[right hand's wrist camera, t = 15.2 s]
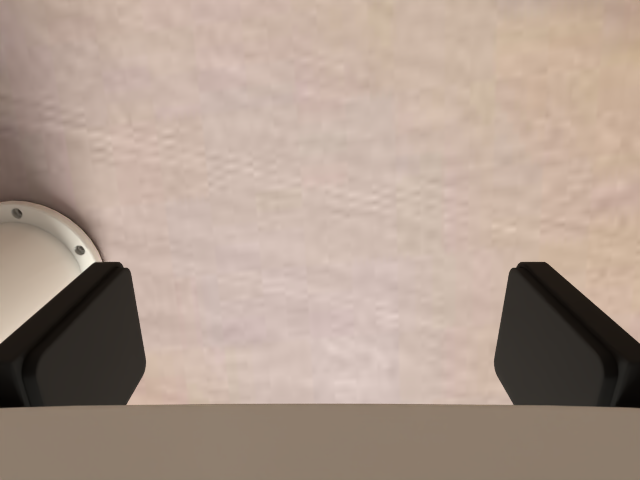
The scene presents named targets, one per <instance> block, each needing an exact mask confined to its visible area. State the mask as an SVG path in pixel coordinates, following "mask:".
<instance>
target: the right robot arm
mask: <svg viewBox="0 0 640 480" xmlns="http://www.w3.org/2000/svg"><path fill="white" fill-rule="evenodd" d="M145 367H146V358H145V352H144V346H143V340H142V335H141V329H140V323H139V317H138V311H137V306H136V300H135V294H134V288H133V282H132V276H131V272H130V270H129V269H128V268H124V267H123V265H122V264H121V263H120V262H102V259H101V257H100V255H99V252H98V250H97V249H96V247H95V246H94V244H93V243H92V241H91V239H90V238H89V237H88V236H87V235H86V234H85V233H84V232H83V230H82V229H81V228H80V227H78V226H77V225H76V224H75V223H74V222H72V221H71V220H70V219H69V218H67V217H65V216H64V215H62V214H60V213H59V212H57V211H55V210H53V209H50V208H48V207H45V206H43V205H40V204H36V203H31V202H27V201H5V202H0V480H640V343H638V342H637V341H636V340H635V339H634V338H633V337H632V336H630V335H629V334H628V333H627V332H626V331H625V330H623V329H622V328H621V327H620V326H619V325H618V324H617V323H615V322H614V321H613V320H612V319H611V318H610V317H608V316H607V315H606V314H605V313H604V312H603V311H602V310H600V309H599V308H598V307H597V306H596V305H595V304H593V303H592V302H591V301H590V300H589V299H588V298H587V297H585V296H584V295H583V294H582V293H581V292H580V291H579V290H577V289H576V288H575V287H574V286H573V285H572V284H570V283H569V282H568V281H567V280H566V279H565V278H564V277H562V276H561V275H560V274H559V273H558V272H557V271H555V270H554V269H553V268H552V267H551V266H550V265H549V264H547V263H546V262H520V263H519V264H518V265H517V267H516V268H512V269H511V270H510V272H509V276H508V282H507V288H506V294H505V300H504V306H503V311H502V317H501V323H500V329H499V335H498V340H497V346H496V352H495V358H494V367H495V372H496V374H497V376H498V378H499V380H500V382H501V383H502V385H503V387H504V389H505V390H506V392H507V394H508V395H509V397H510V399H511V401H512V402H513V404H514V405H442V404H188V405H126V404H127V402H128V401H129V399H130V397H131V395H132V394H133V392H134V390H135V389H136V387H137V385H138V383H139V382H140V380H141V378H142V376H143V374H144V372H145Z"/></svg>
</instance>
